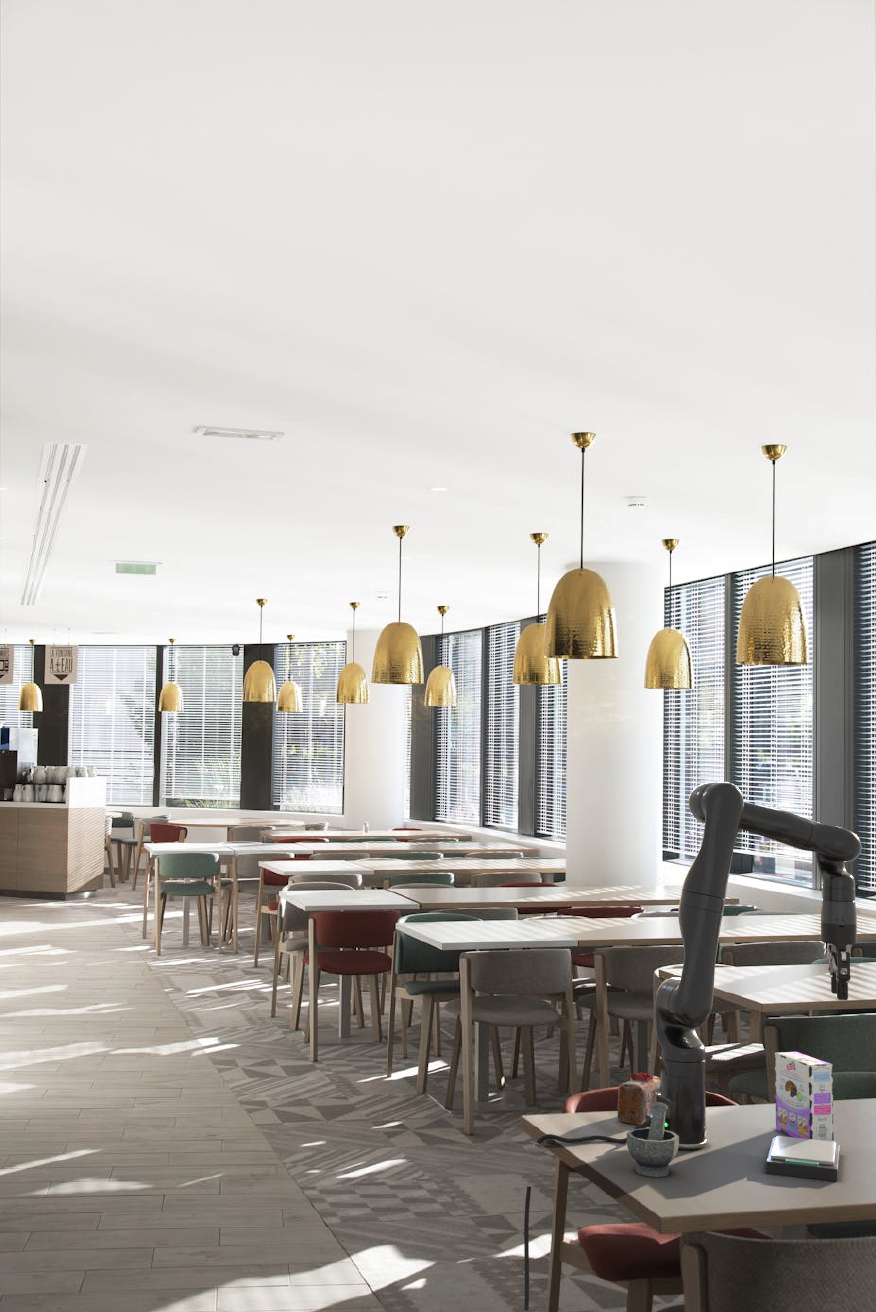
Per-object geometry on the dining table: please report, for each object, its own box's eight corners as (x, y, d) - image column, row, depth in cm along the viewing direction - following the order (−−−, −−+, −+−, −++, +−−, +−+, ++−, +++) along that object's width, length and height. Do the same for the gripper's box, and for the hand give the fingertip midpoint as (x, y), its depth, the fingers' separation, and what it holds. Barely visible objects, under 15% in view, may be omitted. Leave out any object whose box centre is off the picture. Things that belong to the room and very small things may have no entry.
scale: (837, 1181, 237) (837, 1165, 237) (766, 1173, 241) (766, 1158, 241) (839, 1155, 254) (839, 1141, 254) (773, 1148, 258) (773, 1134, 258)
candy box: (835, 1145, 261) (834, 1063, 263) (810, 1146, 260) (809, 1064, 261) (798, 1127, 274) (797, 1050, 276) (774, 1129, 273) (773, 1051, 275)
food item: (637, 1109, 288) (637, 1064, 289) (670, 1114, 284) (670, 1069, 285) (614, 1121, 277) (614, 1075, 278) (648, 1127, 272) (648, 1080, 274)
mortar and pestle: (669, 1182, 234) (669, 1115, 235) (620, 1174, 238) (621, 1109, 239) (685, 1167, 244) (685, 1103, 245) (638, 1159, 248) (639, 1097, 249)
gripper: (816, 917, 284) (817, 990, 282) (825, 923, 270) (826, 1001, 268) (851, 918, 283) (852, 992, 281) (862, 925, 269) (863, 1002, 267)
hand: (839, 996), depth 274 cm, fingers open, 8 cm apart
